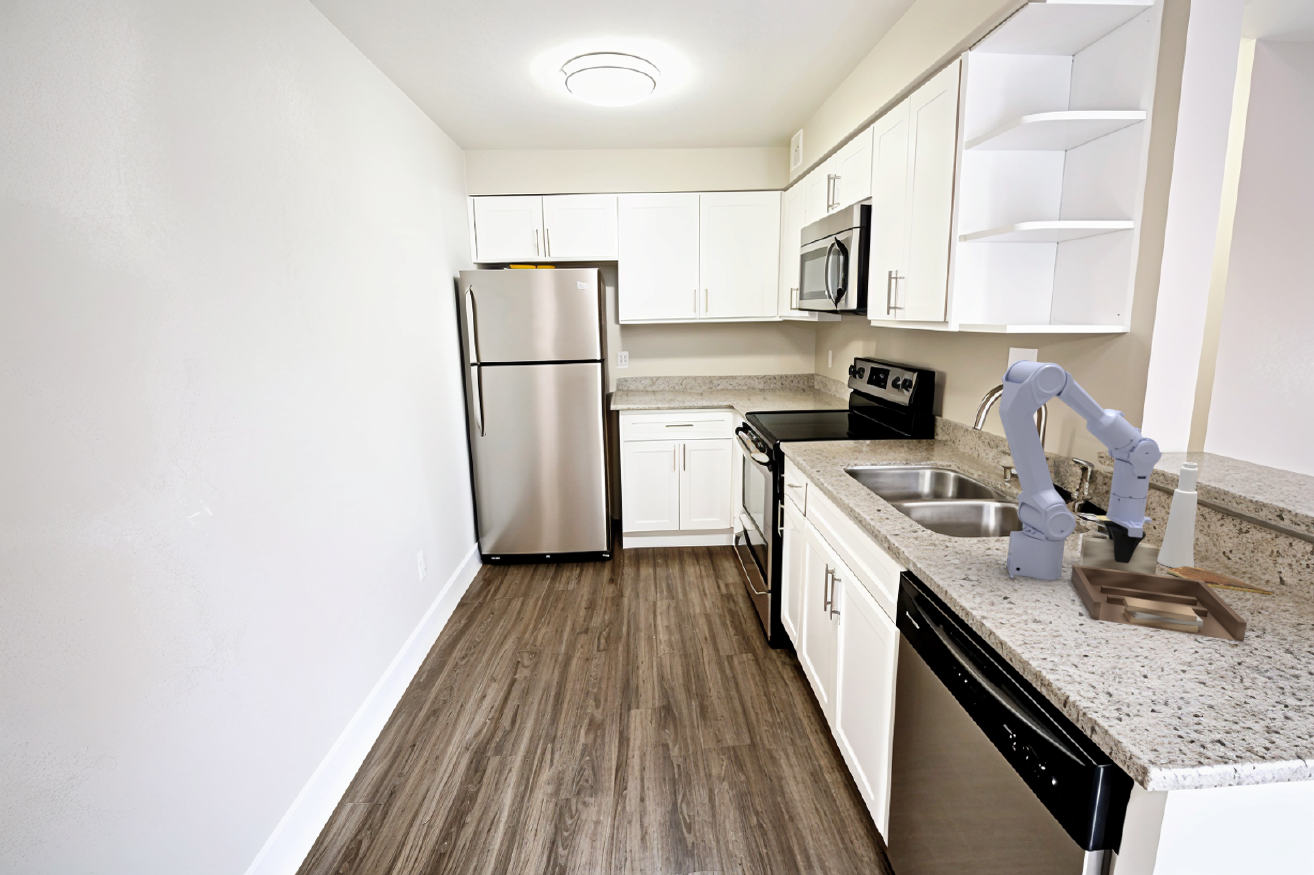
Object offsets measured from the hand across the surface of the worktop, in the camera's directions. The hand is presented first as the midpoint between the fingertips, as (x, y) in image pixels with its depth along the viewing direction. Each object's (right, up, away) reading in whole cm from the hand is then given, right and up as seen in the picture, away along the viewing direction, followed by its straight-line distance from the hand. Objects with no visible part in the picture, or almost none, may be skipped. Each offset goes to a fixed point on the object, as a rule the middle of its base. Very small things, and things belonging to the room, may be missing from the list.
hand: (1119, 559), depth 121 cm
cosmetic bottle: (+16, -2, +5) cm, 17 cm away
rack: (-6, -6, -14) cm, 17 cm away
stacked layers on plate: (+13, 0, +19) cm, 24 cm away
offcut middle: (-8, -6, -20) cm, 22 cm away
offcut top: (-9, -5, -20) cm, 23 cm away
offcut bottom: (-9, -7, -20) cm, 23 cm away
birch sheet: (0, -3, +1) cm, 3 cm away
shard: (+16, -5, -3) cm, 17 cm away
